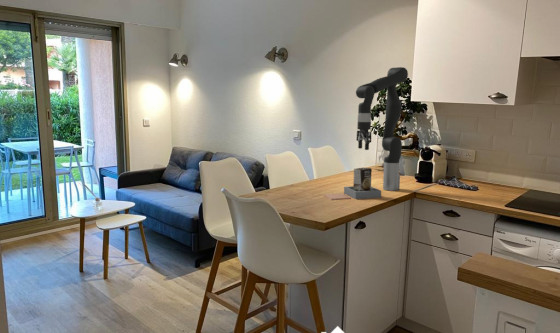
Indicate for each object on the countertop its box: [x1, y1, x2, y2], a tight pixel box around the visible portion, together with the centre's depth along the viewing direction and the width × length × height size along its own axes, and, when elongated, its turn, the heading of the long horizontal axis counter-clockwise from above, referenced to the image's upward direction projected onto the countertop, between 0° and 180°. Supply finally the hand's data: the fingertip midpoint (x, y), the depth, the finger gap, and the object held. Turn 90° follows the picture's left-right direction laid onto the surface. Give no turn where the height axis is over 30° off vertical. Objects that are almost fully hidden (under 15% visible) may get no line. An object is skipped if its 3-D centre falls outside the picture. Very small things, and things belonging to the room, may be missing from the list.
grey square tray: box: [343, 186, 382, 200], centre depth 245 cm, size 16×16×4 cm
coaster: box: [322, 192, 352, 201], centre depth 241 cm, size 12×12×1 cm
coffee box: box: [353, 167, 373, 191], centre depth 244 cm, size 9×6×16 cm
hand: (363, 149), depth 241 cm, fingers open, 8 cm apart
